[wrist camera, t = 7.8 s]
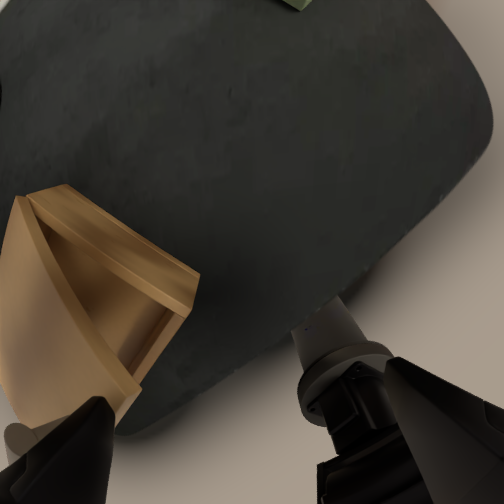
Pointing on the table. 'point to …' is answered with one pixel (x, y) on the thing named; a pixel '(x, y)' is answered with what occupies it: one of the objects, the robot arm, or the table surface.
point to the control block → (298, 3)
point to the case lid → (48, 341)
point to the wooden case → (116, 276)
